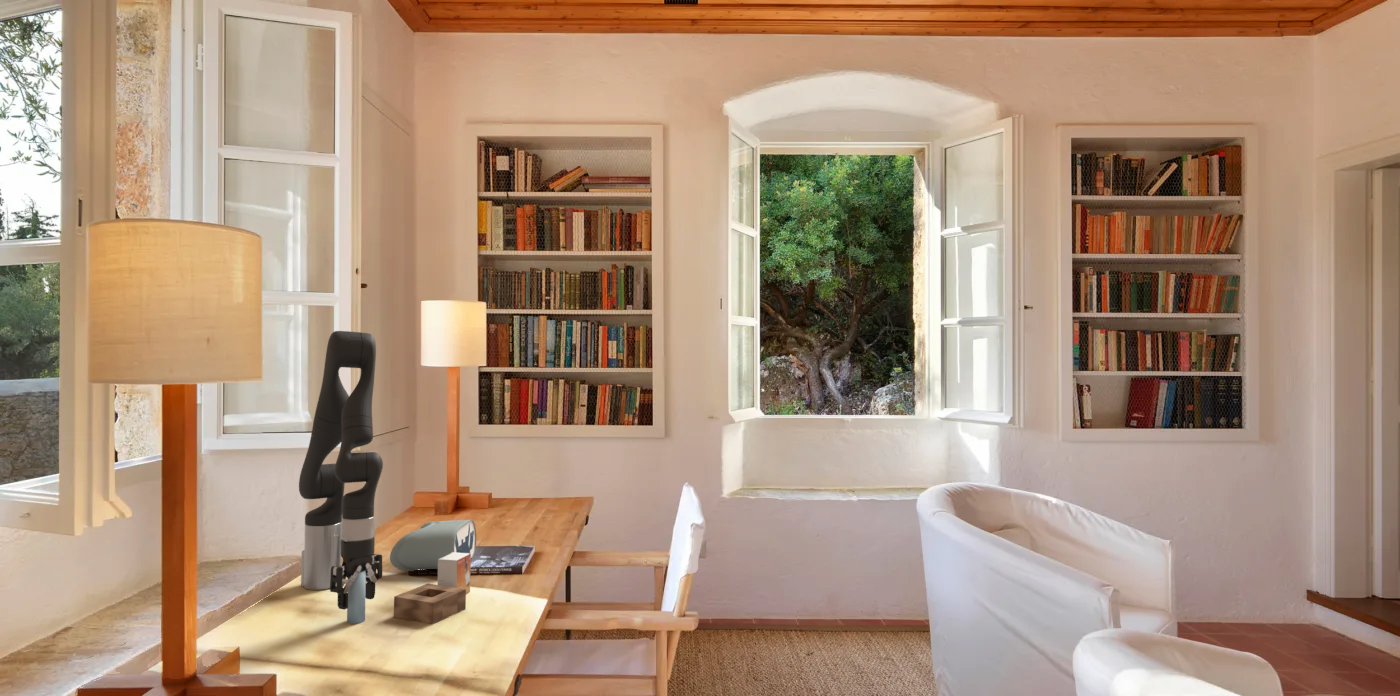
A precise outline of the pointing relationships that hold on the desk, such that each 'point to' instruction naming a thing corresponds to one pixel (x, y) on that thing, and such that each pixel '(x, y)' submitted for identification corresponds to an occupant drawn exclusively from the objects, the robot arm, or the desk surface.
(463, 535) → the pencil case
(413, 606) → the socket block
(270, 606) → the desk surface
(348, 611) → the peg
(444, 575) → the small box
